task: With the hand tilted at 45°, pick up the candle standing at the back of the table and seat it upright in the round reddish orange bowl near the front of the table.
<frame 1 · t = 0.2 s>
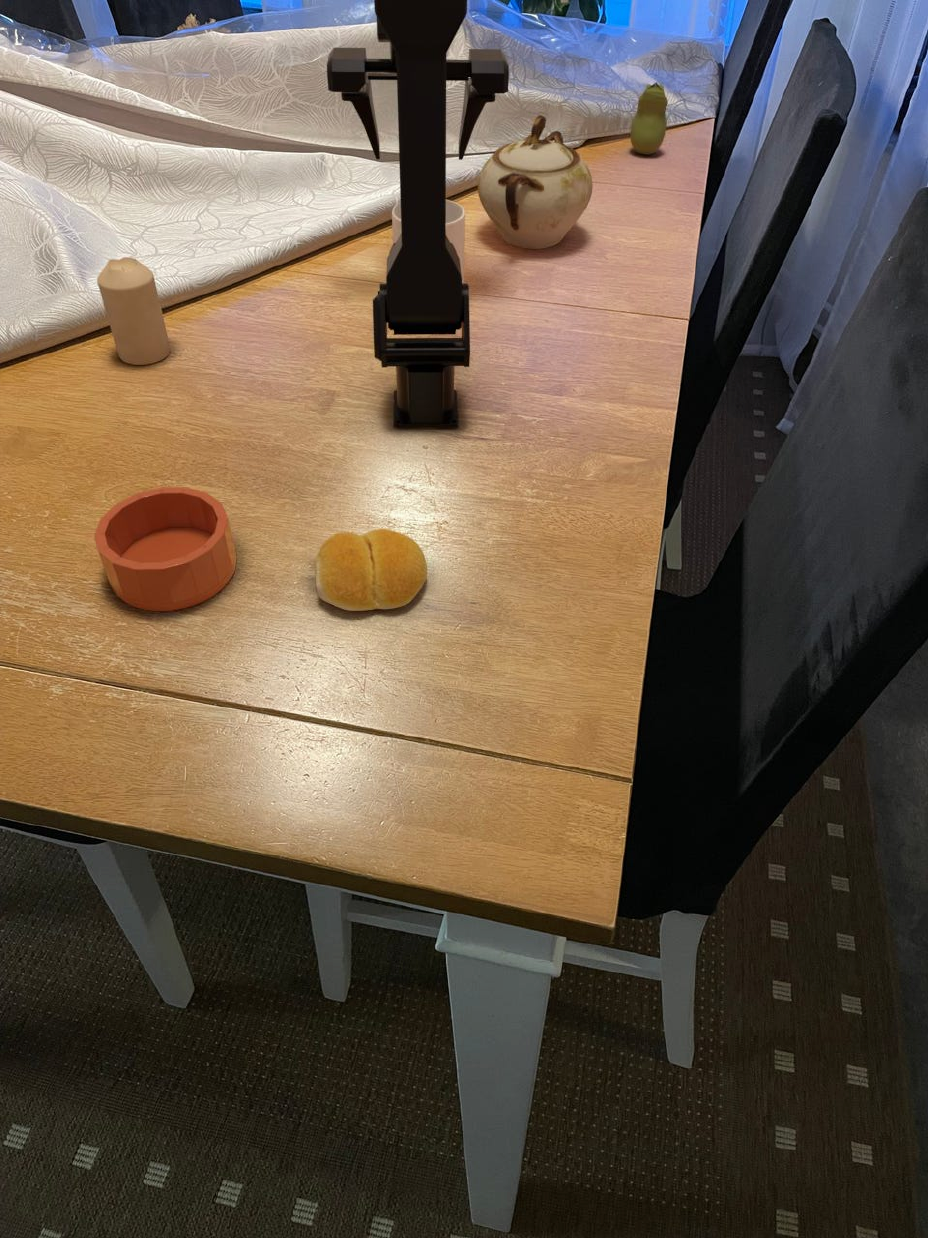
hand: (419, 158, 98), 15 cm above the table, tool pointing down, fingers open, 9 cm apart
round reddish orange bowl: (174, 568, 72), on the table
pear: (644, 154, 144), on the table
bread roll: (369, 583, 71), on the table
sugar bowl: (530, 237, 120), on the table
candle: (145, 354, 96), on the table
mug: (422, 306, 105), on the table
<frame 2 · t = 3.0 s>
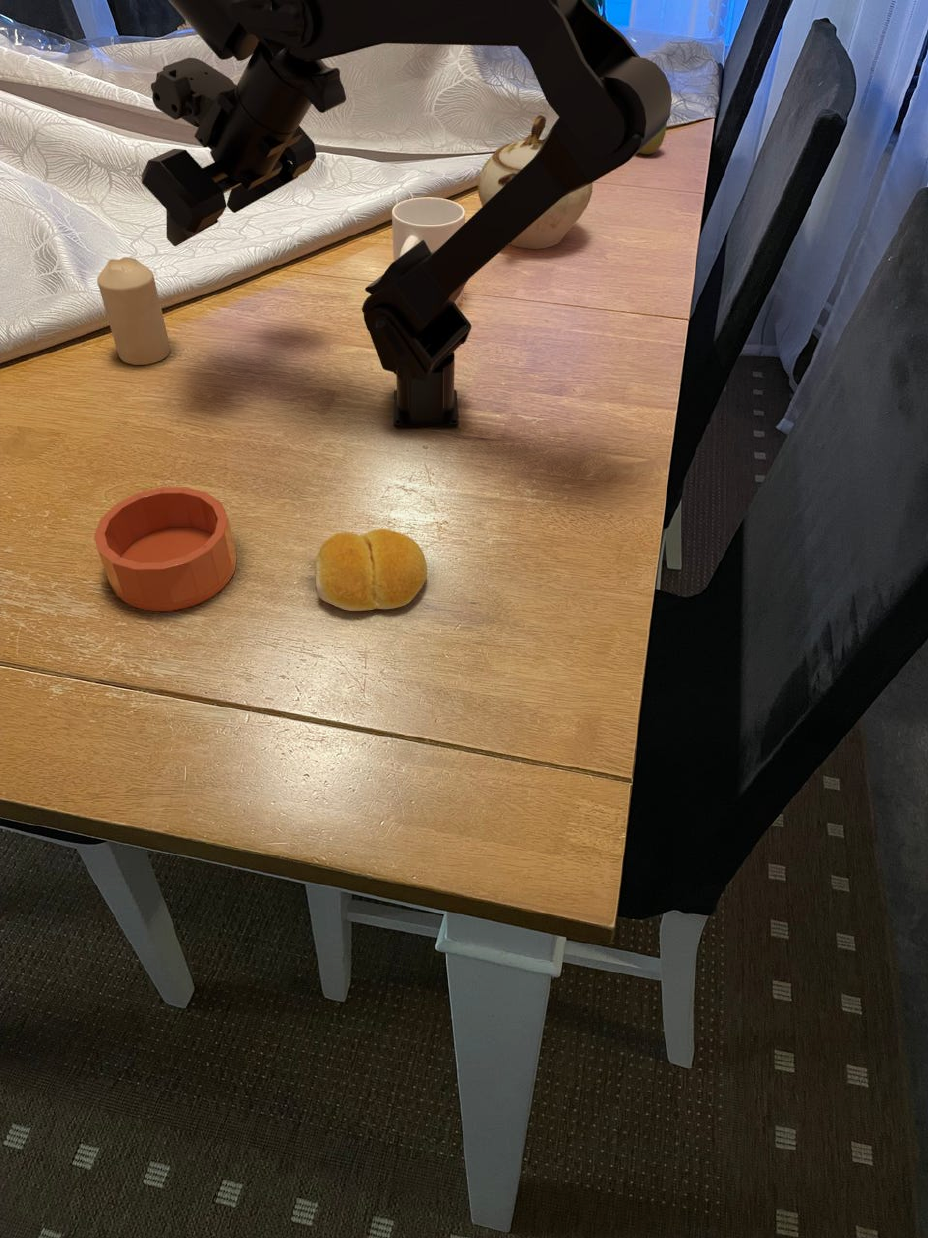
hand: (202, 224, 86), 14 cm above the table, tool tilted 40°, fingers open, 9 cm apart
nothing on the table moved.
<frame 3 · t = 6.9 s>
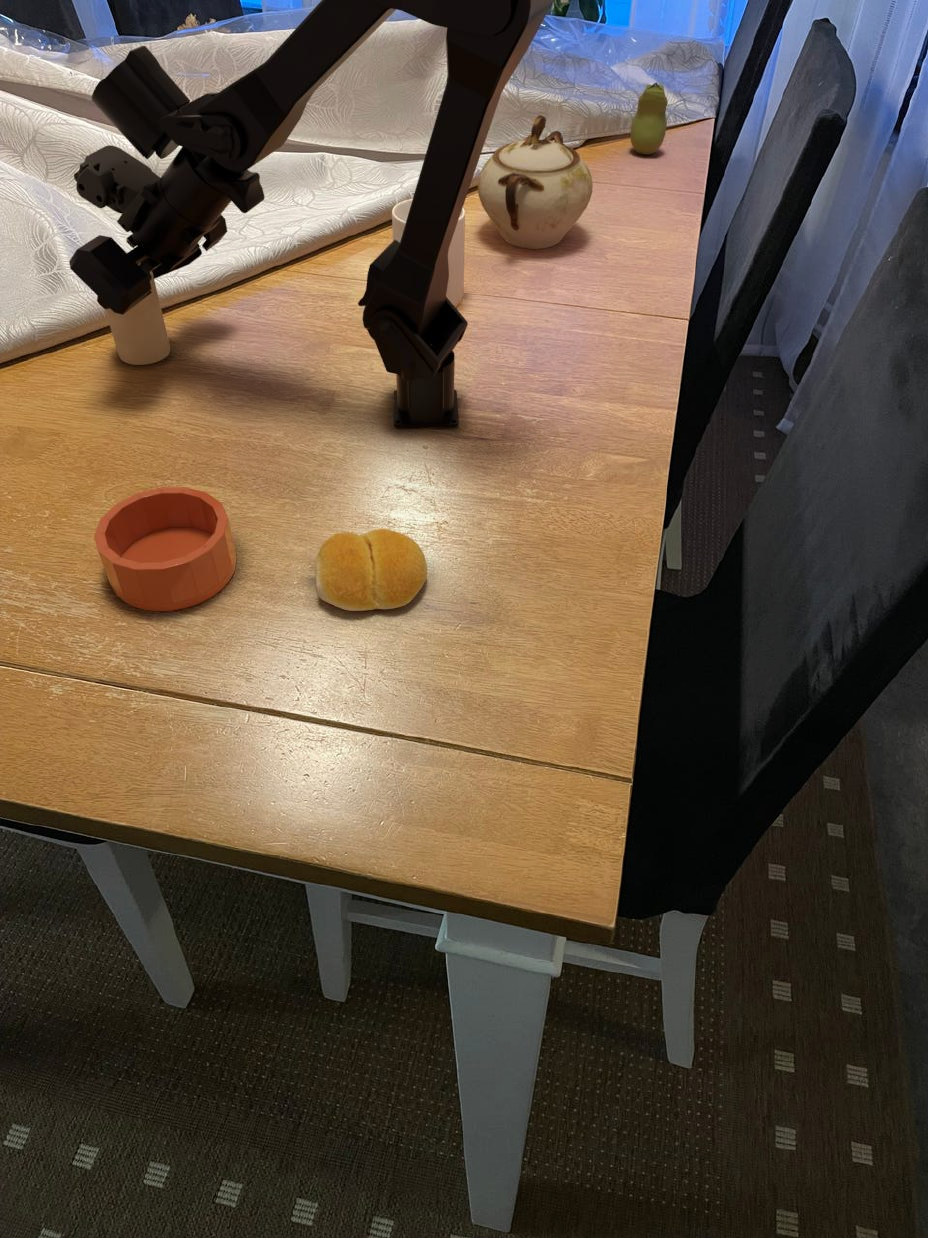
hand: (118, 292, 91), 7 cm above the table, tool tilted 45°, fingers closed on candle, 5 cm apart
candle: (145, 354, 96), on the table, touching gripper
everything else where it was.
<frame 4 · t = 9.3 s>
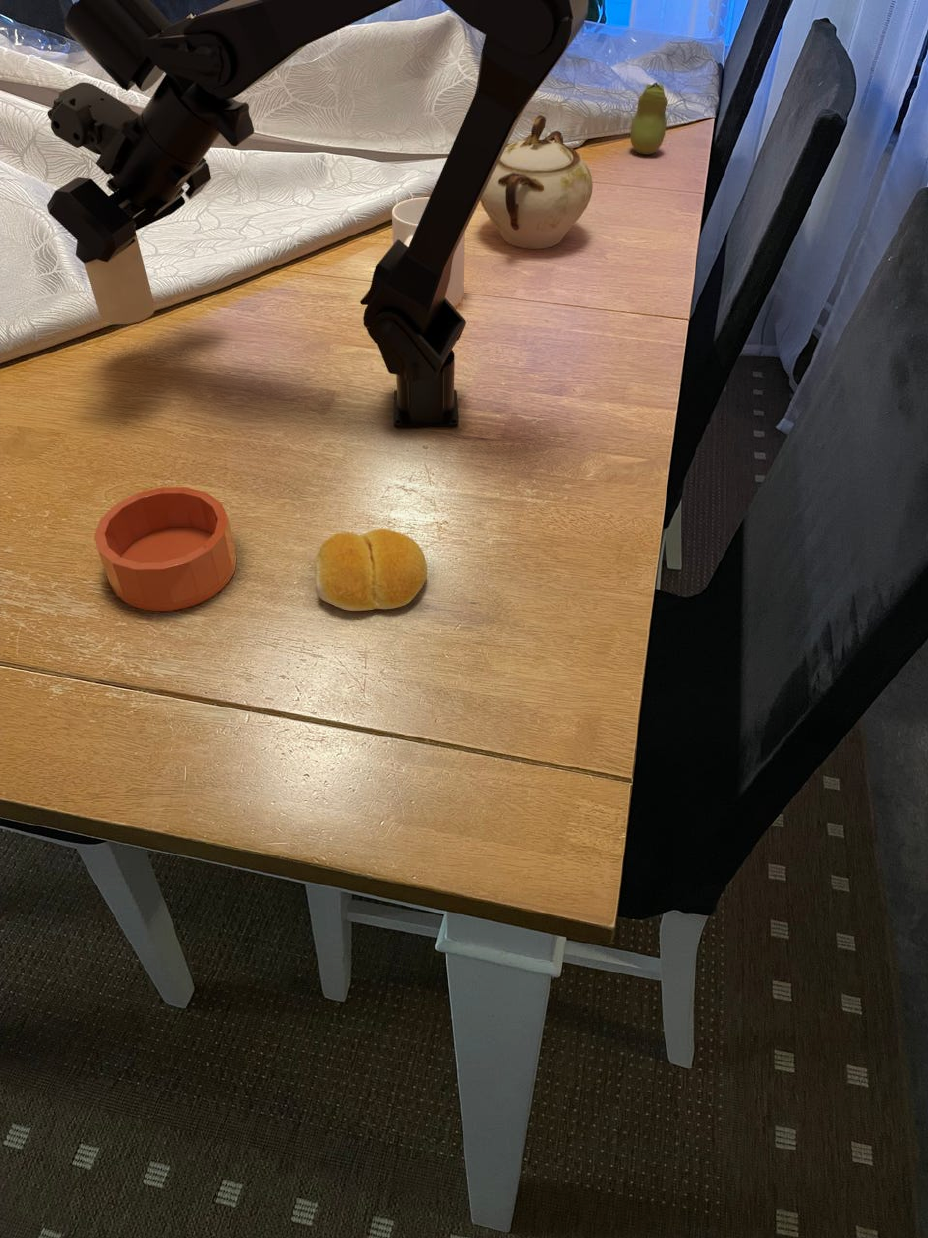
hand: (97, 246, 86), 12 cm above the table, tool tilted 45°, fingers closed on candle, 5 cm apart
candle: (128, 314, 90), point 5 cm above the table, touching gripper
everything else where it was.
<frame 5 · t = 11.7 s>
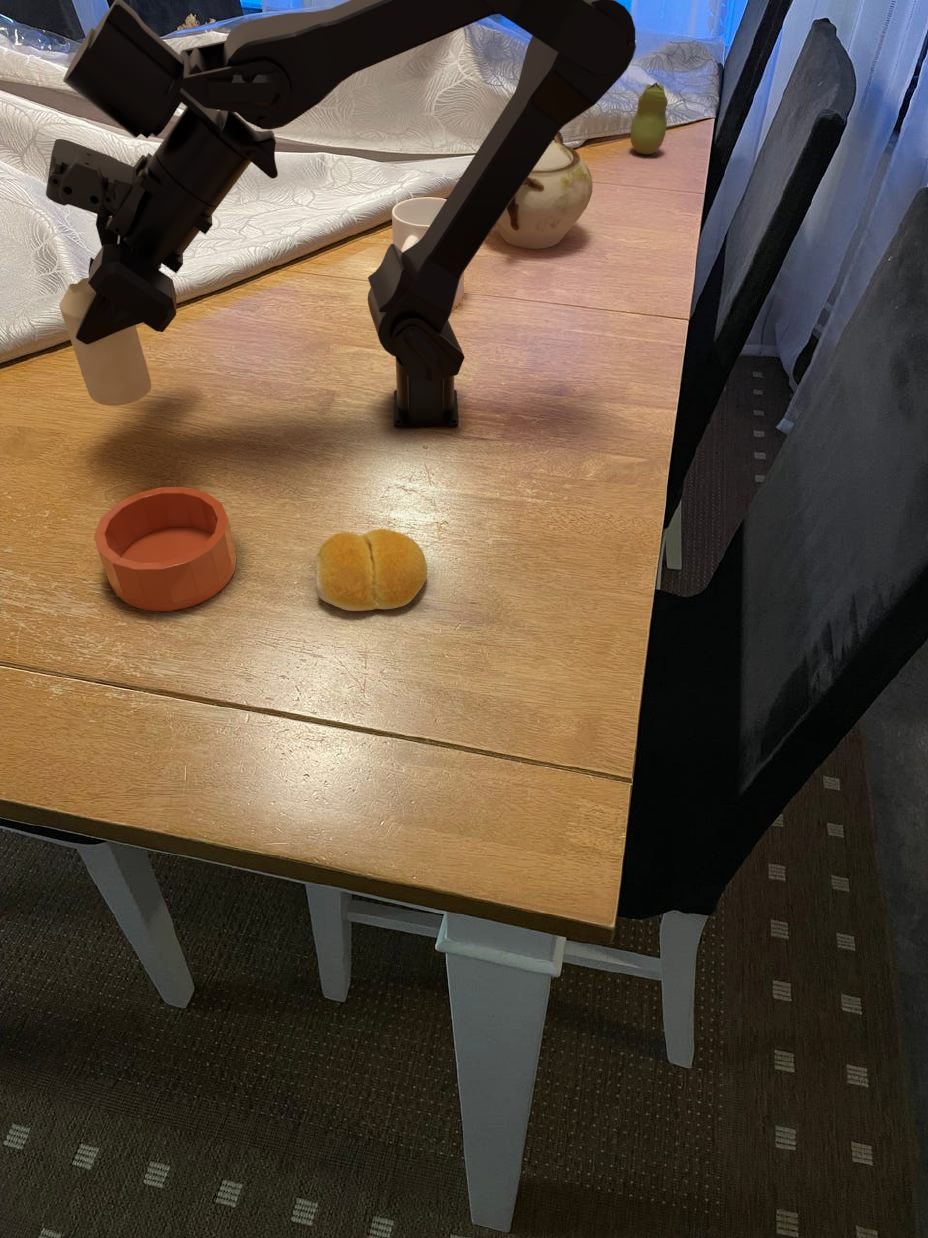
hand: (83, 323, 75), 12 cm above the table, tool tilted 45°, fingers closed on candle, 5 cm apart
candle: (121, 392, 80), point 6 cm above the table, touching gripper
everything else where it was.
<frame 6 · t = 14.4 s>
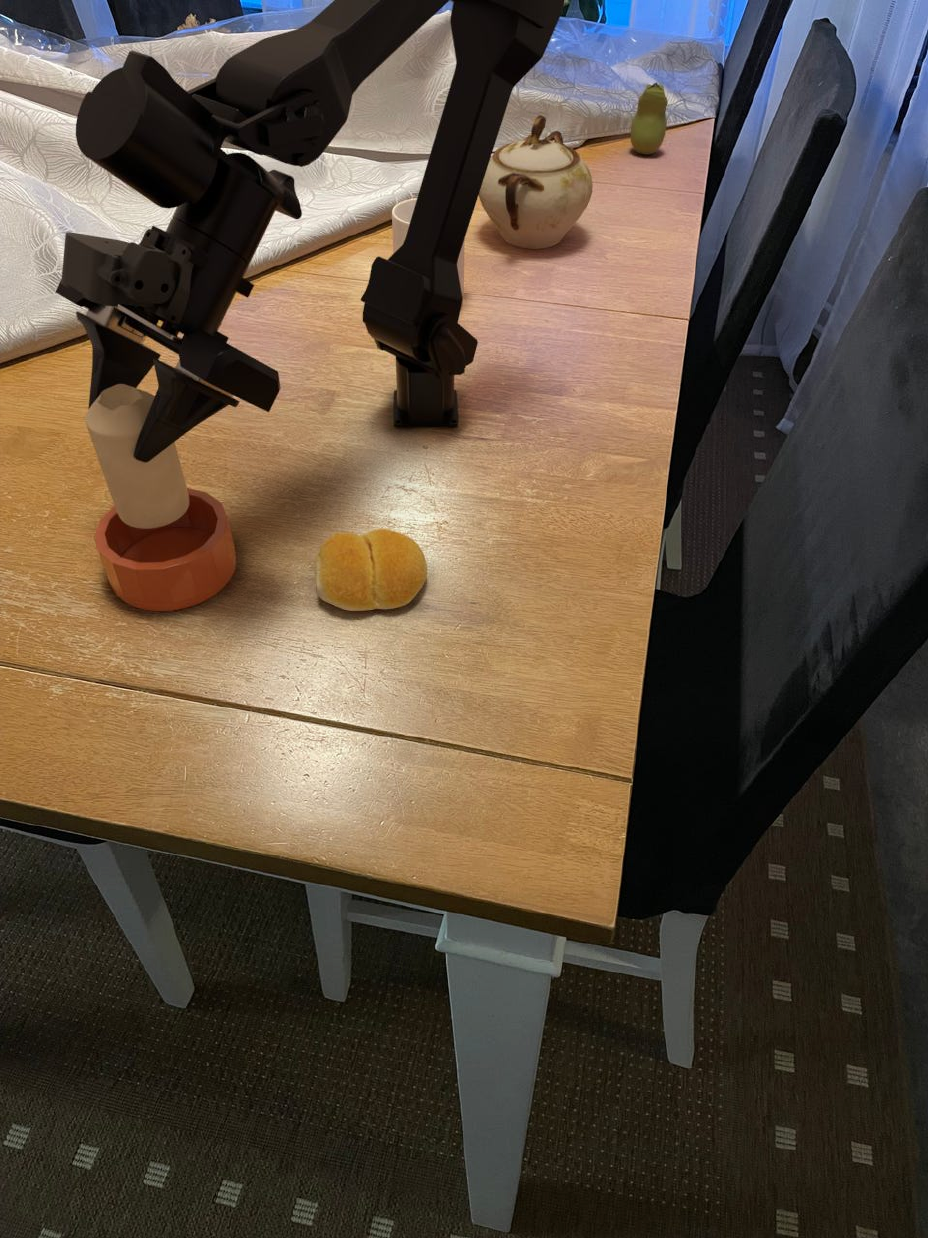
hand: (116, 443, 63), 12 cm above the table, tool tilted 45°, fingers closed on candle, 5 cm apart
candle: (154, 508, 69), point 6 cm above the table, touching gripper
everything else where it was.
when the fingers open (7 cm above the table, at t = 16.7 s): candle stays where it is, resting on round reddish orange bowl.
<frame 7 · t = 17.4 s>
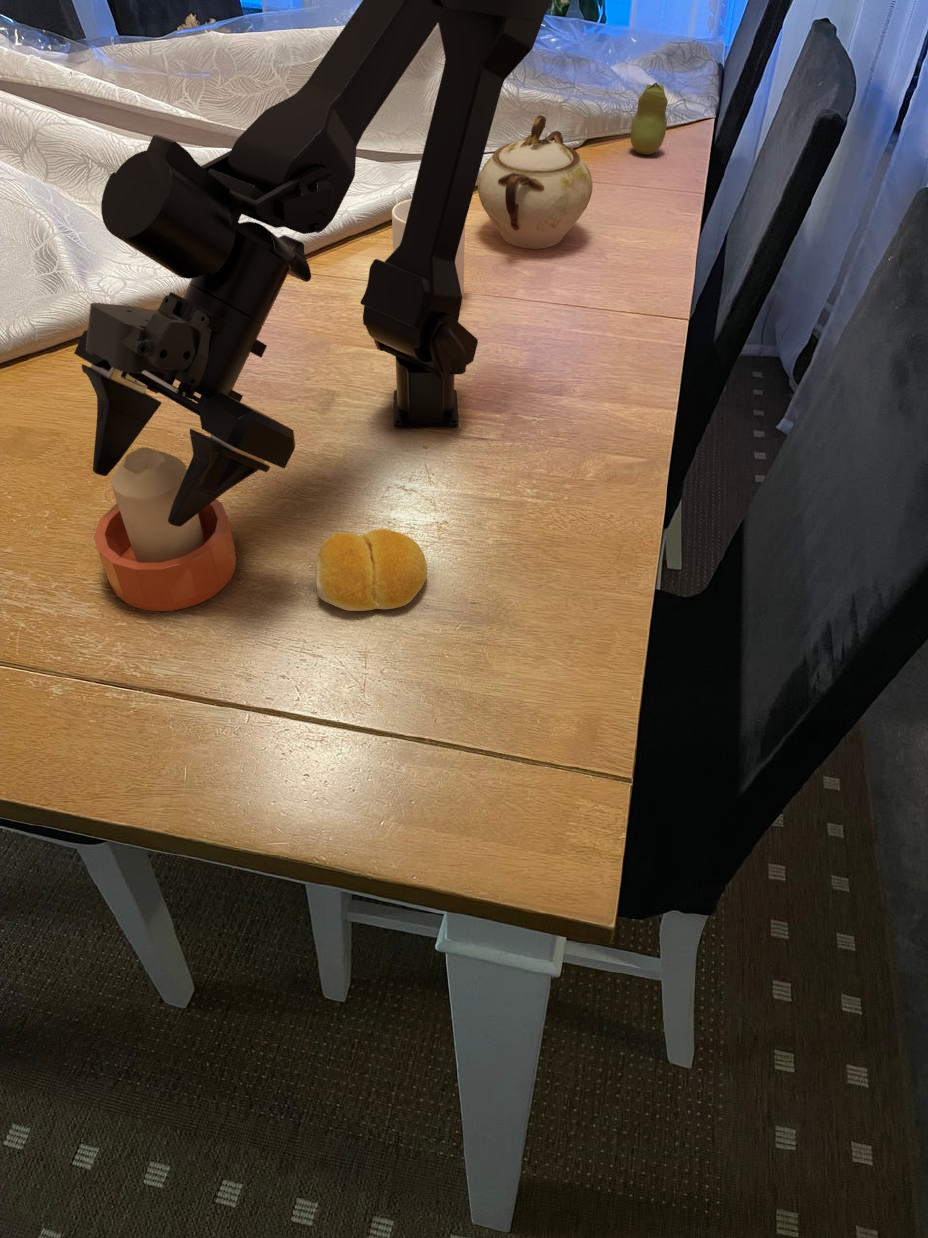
hand: (135, 498, 65), 8 cm above the table, tool tilted 45°, fingers open, 9 cm apart
candle: (174, 561, 72), point 1 cm above the table, touching round reddish orange bowl
everything else where it was.
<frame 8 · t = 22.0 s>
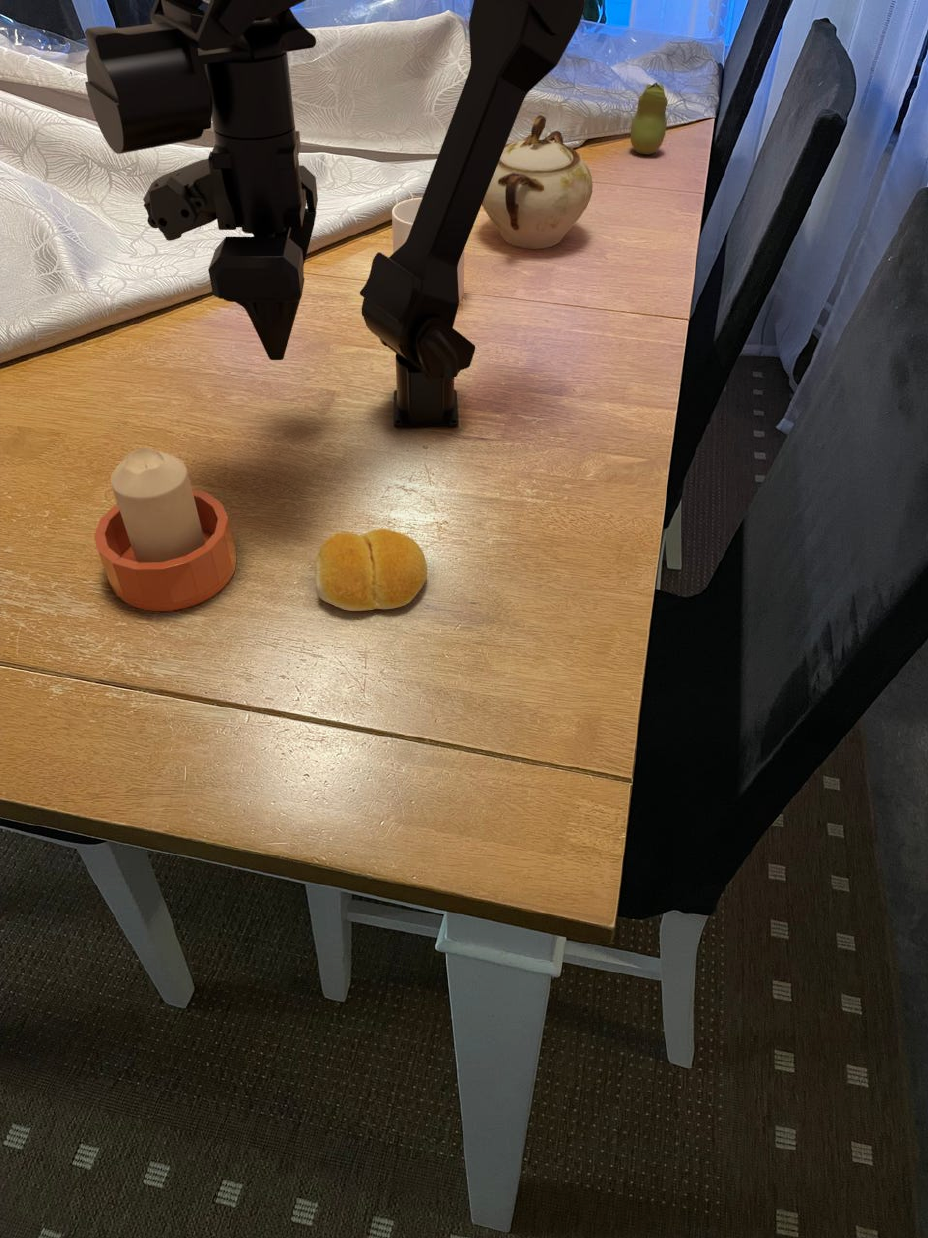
hand: (282, 331, 73), 13 cm above the table, tool pointing down, fingers open, 9 cm apart
nothing on the table moved.
at the end: candle 0.1 cm off-centre in the round reddish orange bowl, point 0.6 cm above the round reddish orange bowl's base; candle tilted 0°; the gripper is holding nothing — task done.
